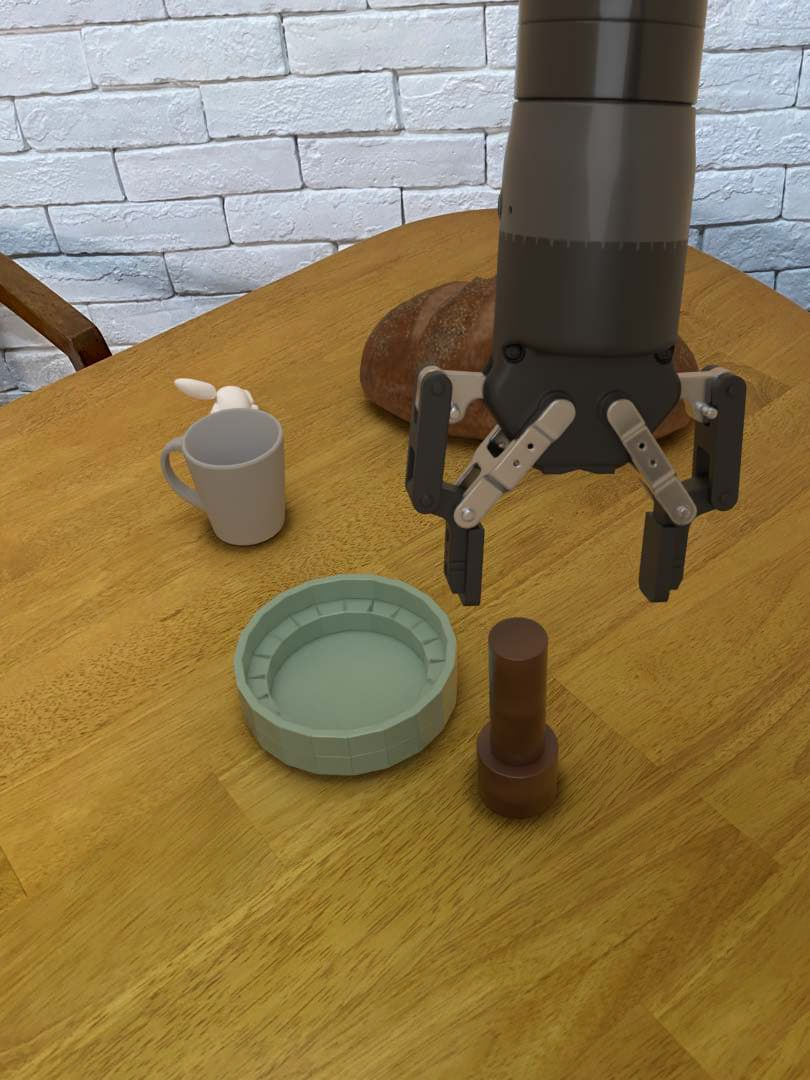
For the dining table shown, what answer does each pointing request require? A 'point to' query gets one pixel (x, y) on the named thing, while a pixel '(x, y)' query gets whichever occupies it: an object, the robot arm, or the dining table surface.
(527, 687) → the pestle
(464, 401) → the robot arm
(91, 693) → the dining table surface
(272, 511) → the cup
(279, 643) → the bowl
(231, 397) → the rabbit figurine
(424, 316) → the bread
